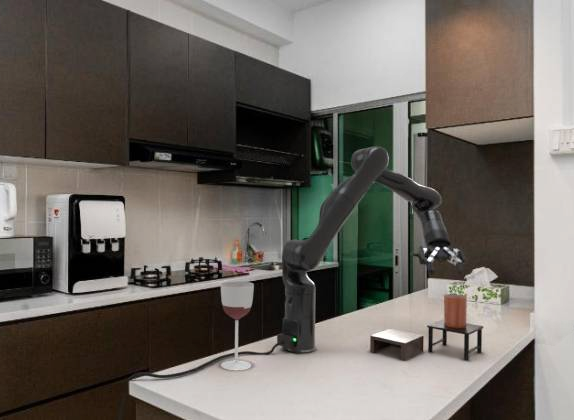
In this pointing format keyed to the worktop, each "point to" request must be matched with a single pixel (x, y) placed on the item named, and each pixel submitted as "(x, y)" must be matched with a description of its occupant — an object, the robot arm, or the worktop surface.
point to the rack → (466, 331)
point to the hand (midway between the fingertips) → (446, 273)
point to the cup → (455, 310)
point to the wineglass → (236, 313)
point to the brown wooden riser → (398, 342)
